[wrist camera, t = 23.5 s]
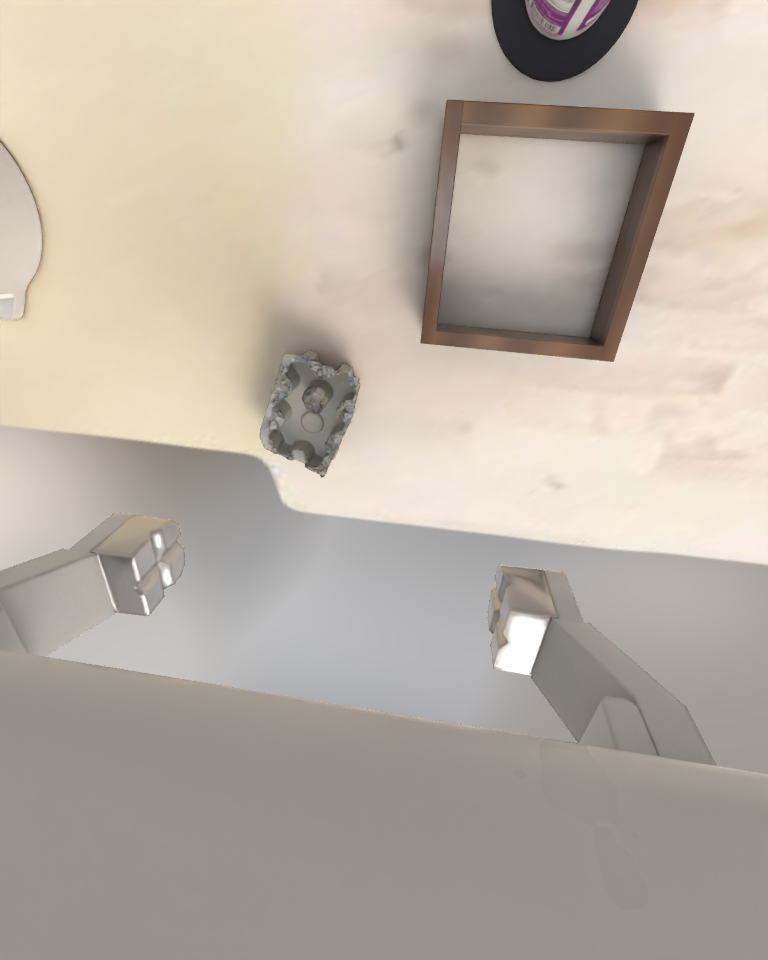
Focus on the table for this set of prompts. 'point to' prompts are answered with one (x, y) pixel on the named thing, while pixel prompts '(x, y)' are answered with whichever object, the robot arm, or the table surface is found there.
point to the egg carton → (309, 410)
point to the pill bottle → (564, 16)
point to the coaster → (551, 55)
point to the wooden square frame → (636, 235)
